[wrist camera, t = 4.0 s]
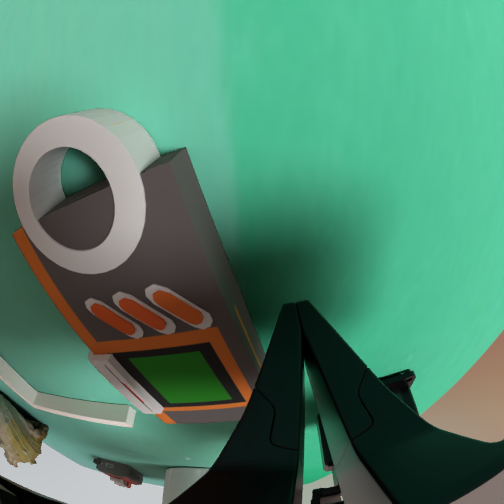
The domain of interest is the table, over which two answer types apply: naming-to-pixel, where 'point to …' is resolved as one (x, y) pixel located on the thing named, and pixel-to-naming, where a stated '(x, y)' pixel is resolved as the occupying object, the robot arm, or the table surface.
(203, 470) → the utensil holder
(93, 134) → the electronic device
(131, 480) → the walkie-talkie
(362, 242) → the table surface
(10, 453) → the seashell
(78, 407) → the docking bay
